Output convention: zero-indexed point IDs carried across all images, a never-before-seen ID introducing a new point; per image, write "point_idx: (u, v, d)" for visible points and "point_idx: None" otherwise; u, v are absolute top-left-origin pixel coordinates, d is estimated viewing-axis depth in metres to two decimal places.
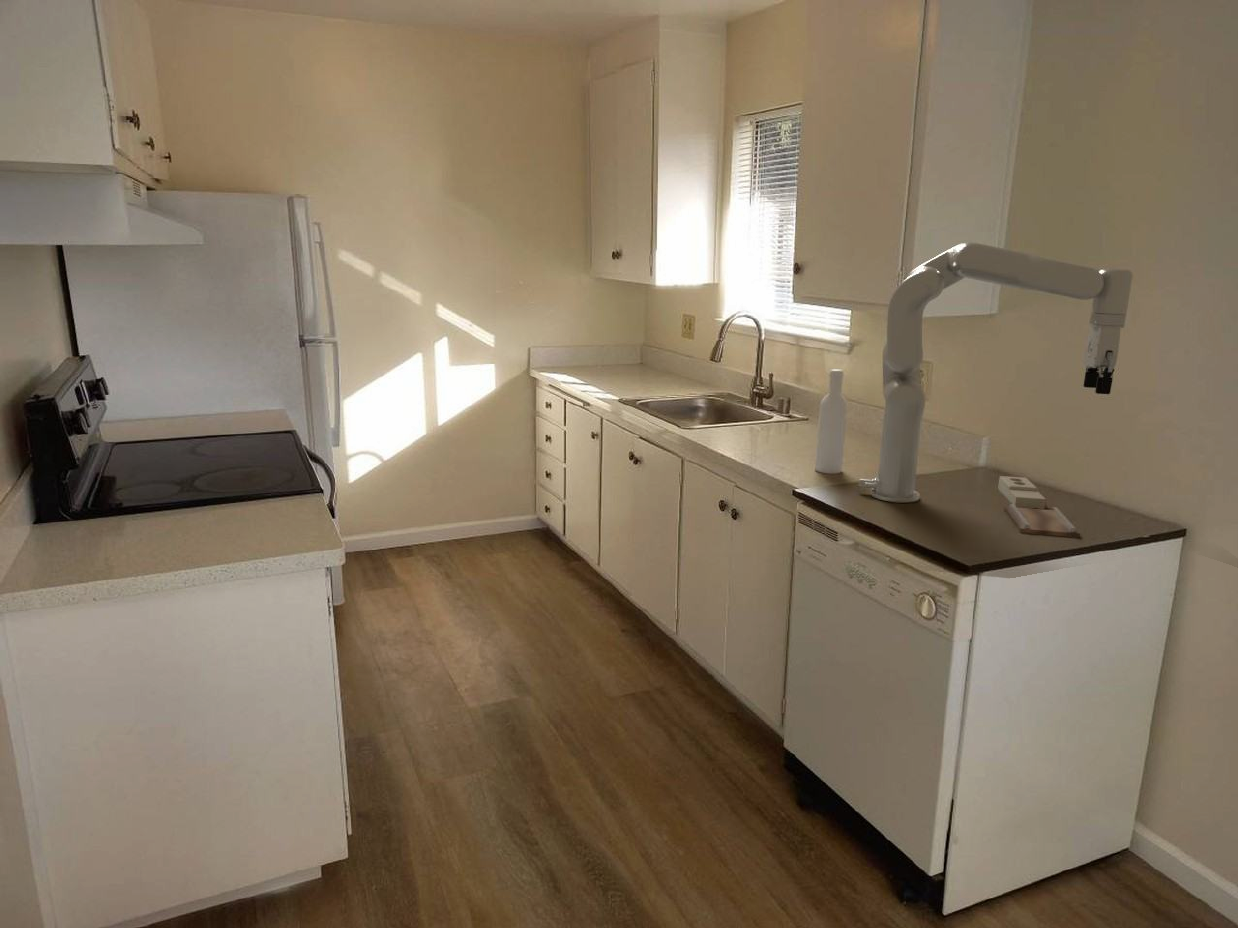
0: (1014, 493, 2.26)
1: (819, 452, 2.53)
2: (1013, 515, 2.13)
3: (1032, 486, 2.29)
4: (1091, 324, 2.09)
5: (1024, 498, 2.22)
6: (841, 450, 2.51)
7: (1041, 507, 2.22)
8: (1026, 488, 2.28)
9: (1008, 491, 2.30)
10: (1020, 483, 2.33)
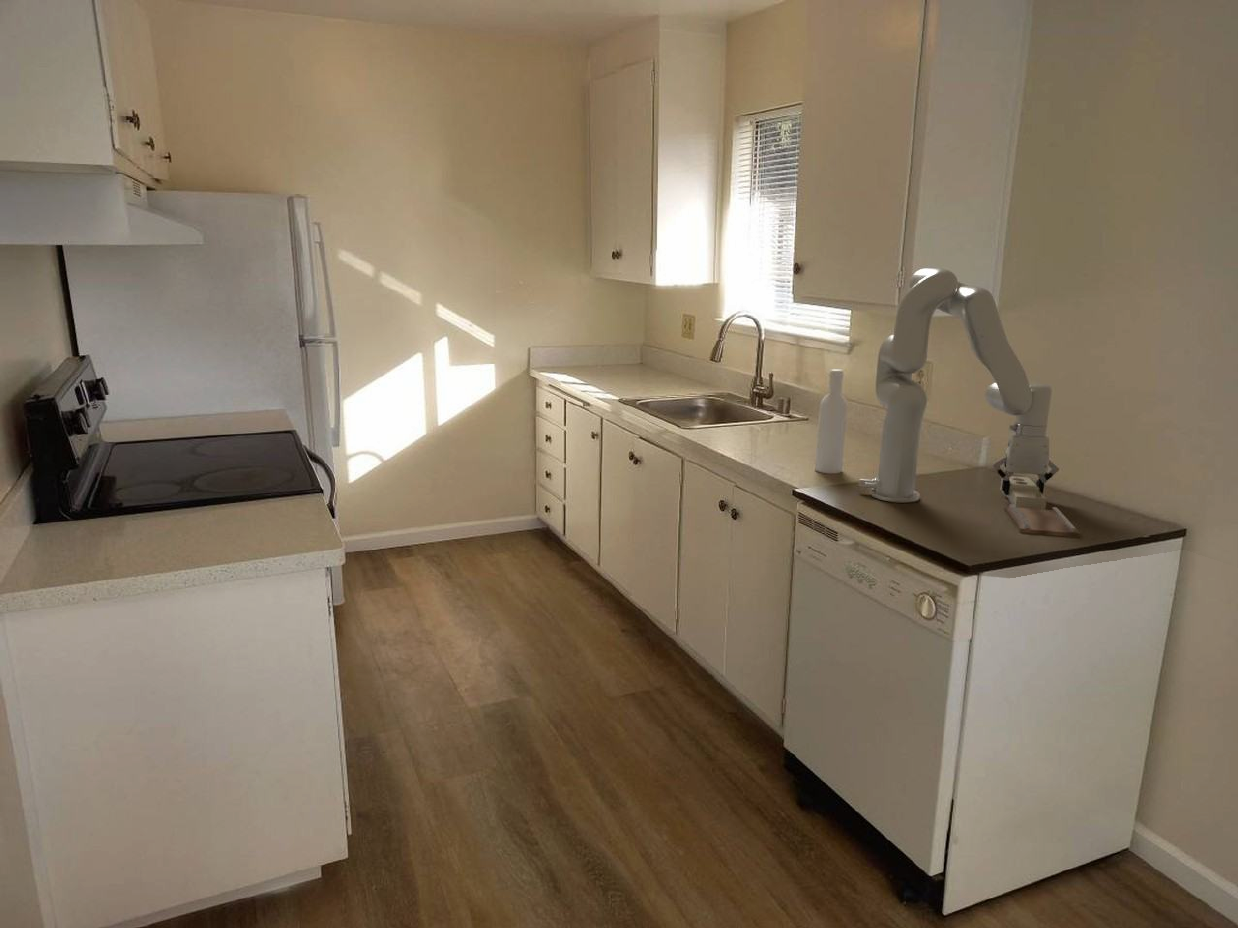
0: (1015, 492, 2.25)
1: (819, 452, 2.53)
2: (1013, 515, 2.13)
3: (1034, 486, 2.28)
4: (1036, 437, 2.23)
5: (1025, 497, 2.21)
6: (841, 450, 2.51)
7: (1042, 507, 2.21)
8: (1028, 488, 2.28)
9: (1010, 490, 2.29)
10: (1022, 483, 2.33)
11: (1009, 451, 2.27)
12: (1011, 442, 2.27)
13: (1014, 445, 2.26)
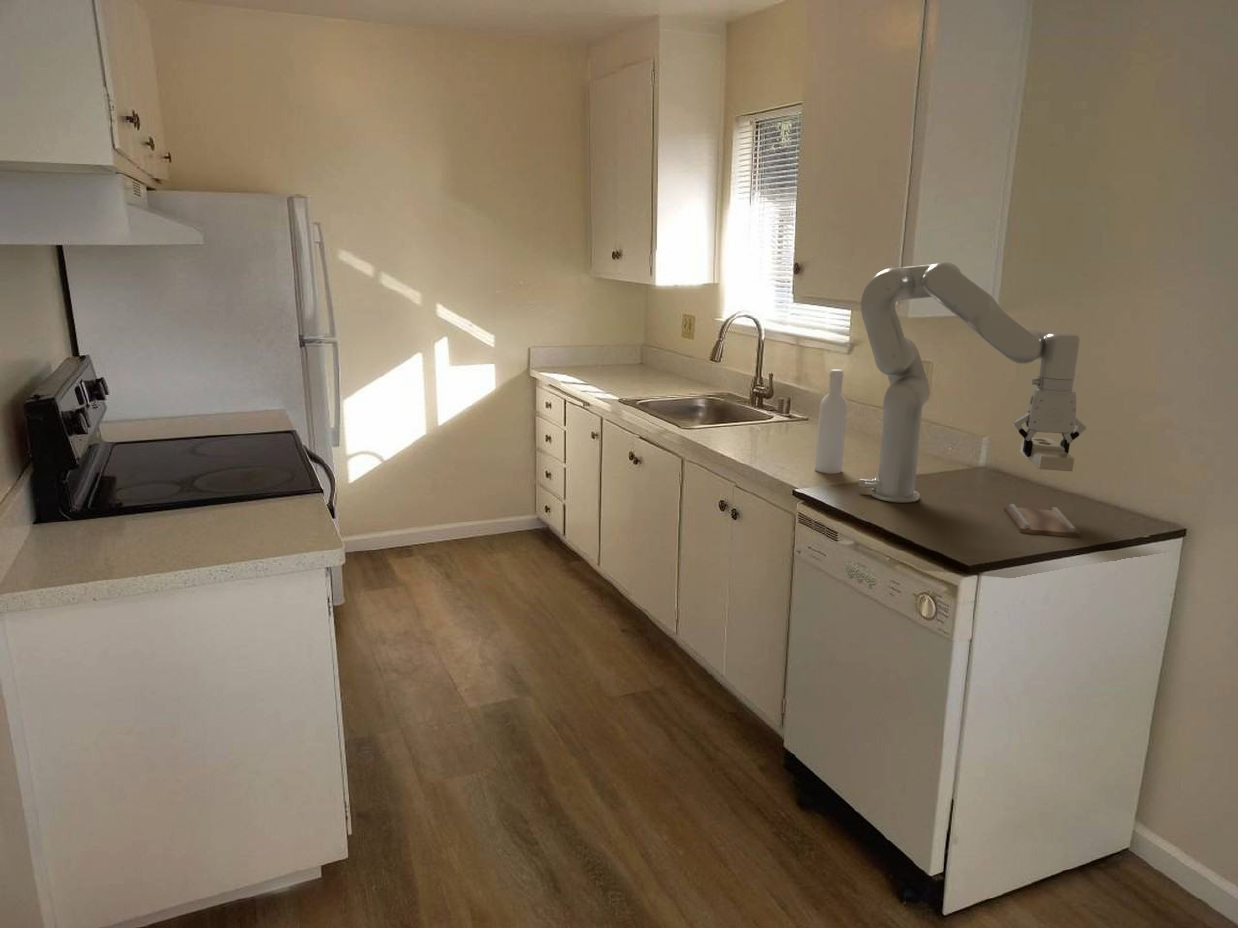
0: (1039, 453, 2.05)
1: (819, 452, 2.53)
2: (1013, 515, 2.13)
3: (1059, 446, 2.08)
4: (1062, 391, 2.03)
5: (1050, 457, 2.01)
6: (841, 450, 2.51)
7: (1069, 467, 2.01)
8: (1052, 448, 2.08)
9: (1032, 451, 2.09)
10: (1045, 443, 2.12)
11: (1032, 408, 2.07)
12: (1034, 398, 2.06)
13: (1038, 401, 2.06)
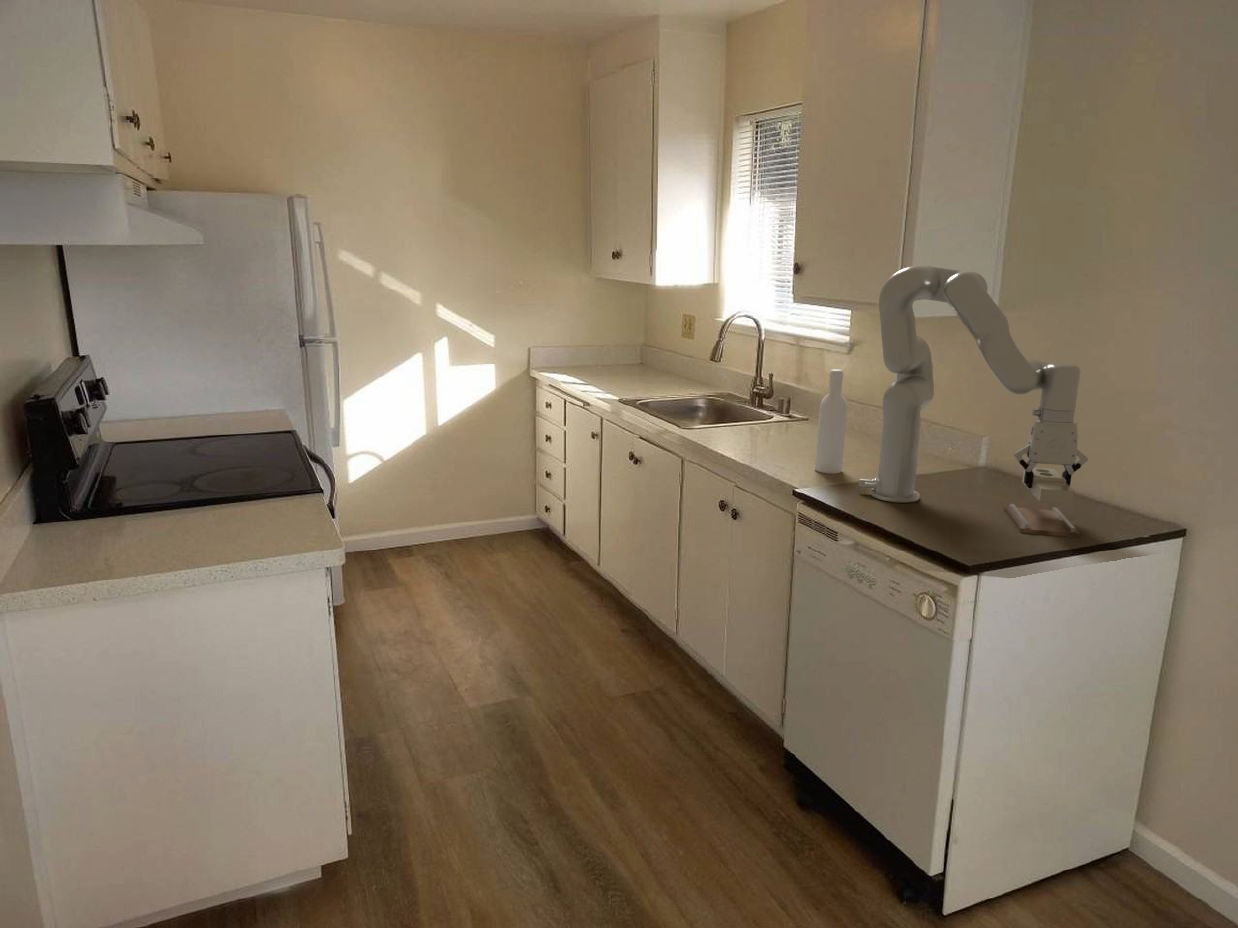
0: (1039, 485, 2.02)
1: (819, 452, 2.53)
2: (1013, 515, 2.13)
3: (1060, 477, 2.05)
4: (1063, 423, 2.00)
5: (1050, 490, 1.99)
6: (841, 450, 2.51)
7: (1070, 500, 1.98)
8: (1053, 479, 2.05)
9: (1033, 483, 2.06)
10: (1047, 474, 2.10)
11: (1032, 439, 2.04)
12: (1035, 429, 2.04)
13: (1038, 432, 2.03)
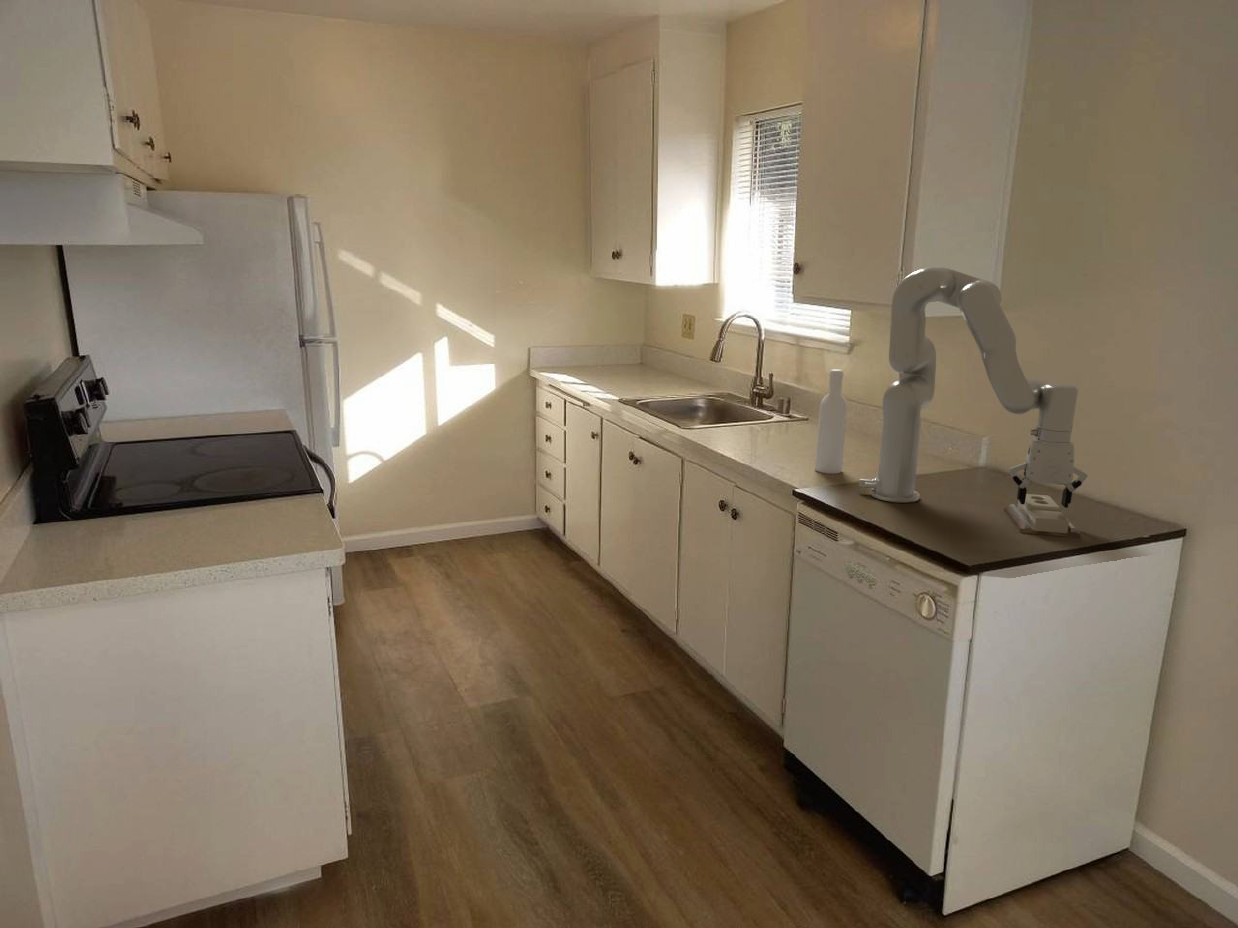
0: (1034, 513, 2.04)
1: (819, 452, 2.53)
2: (1013, 515, 2.13)
3: (1055, 505, 2.07)
4: (1060, 443, 2.01)
5: (1045, 519, 2.00)
6: (841, 450, 2.51)
7: (1064, 529, 2.00)
8: (1048, 508, 2.07)
9: (1028, 511, 2.08)
10: (1042, 502, 2.11)
11: (1029, 458, 2.05)
12: (1032, 448, 2.05)
13: (1035, 452, 2.04)
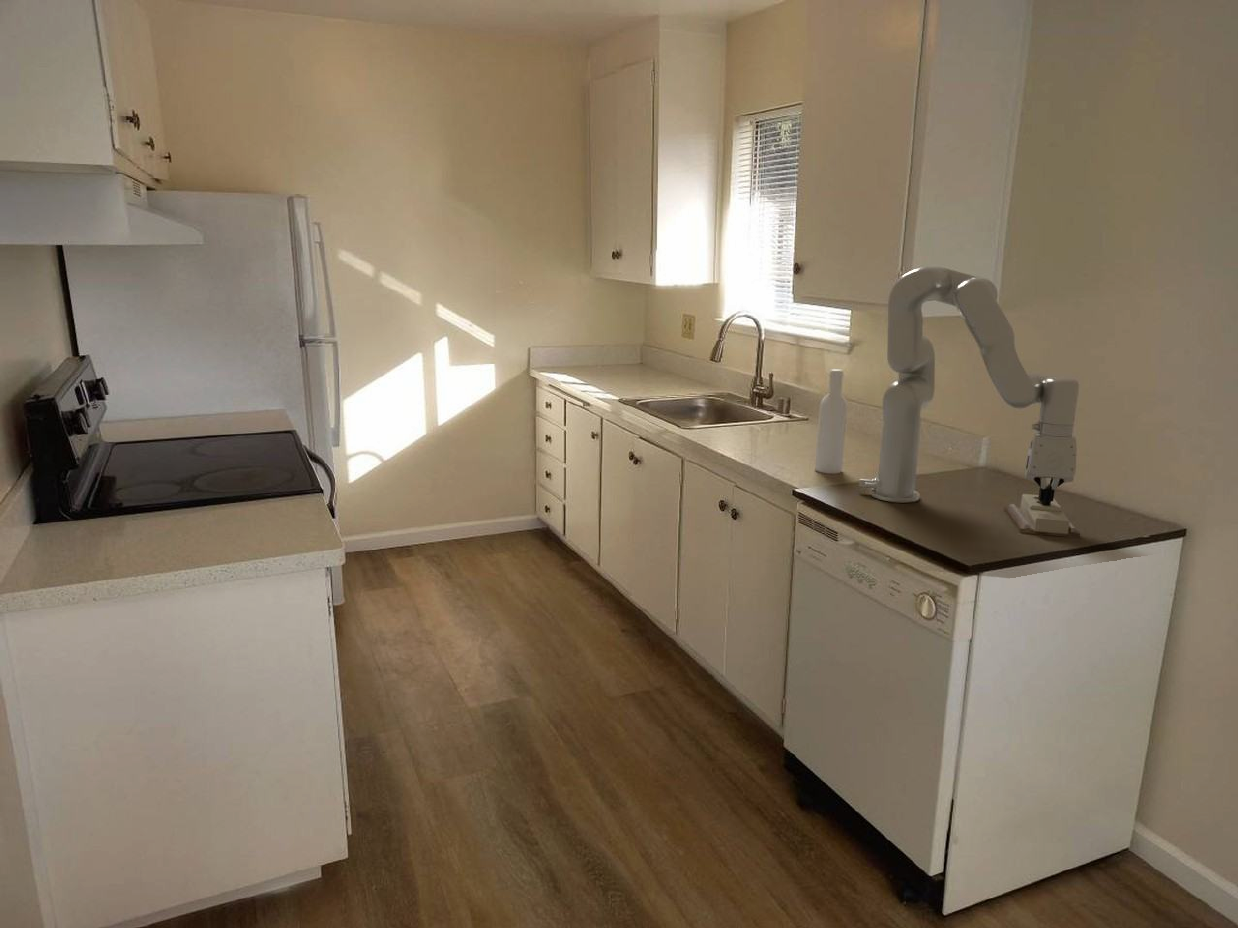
0: (1035, 514, 2.04)
1: (819, 452, 2.53)
2: (1013, 515, 2.13)
3: (1056, 506, 2.07)
4: (1062, 437, 2.01)
5: (1045, 519, 2.00)
6: (841, 450, 2.51)
7: (1064, 530, 2.00)
8: (1049, 508, 2.06)
9: (1029, 511, 2.08)
10: None
11: (1032, 453, 2.05)
12: (1034, 443, 2.04)
13: (1037, 446, 2.04)
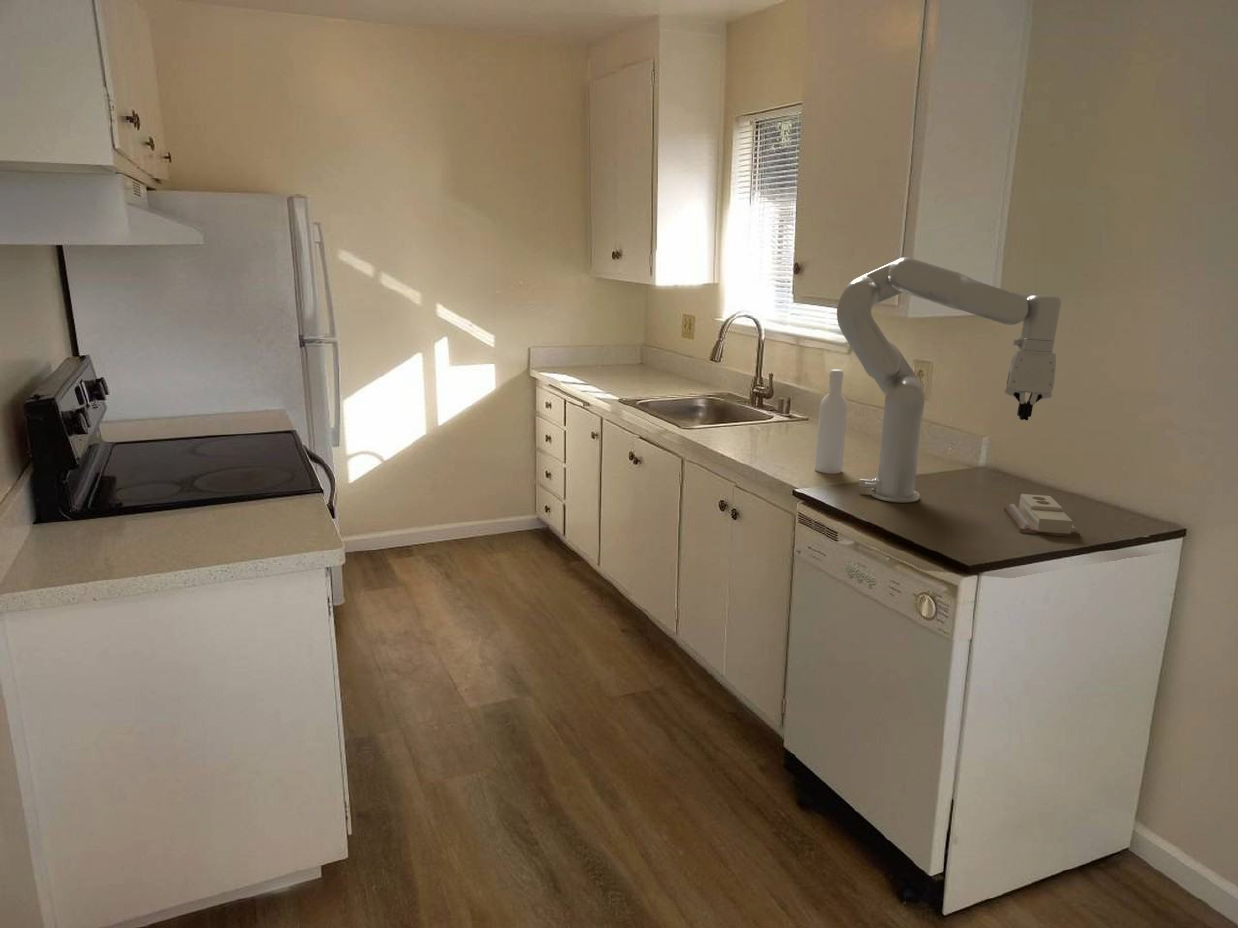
0: (1037, 514, 2.04)
1: (819, 452, 2.53)
2: (1013, 515, 2.13)
3: (1057, 506, 2.07)
4: (1041, 352, 2.08)
5: (1048, 519, 2.00)
6: (841, 450, 2.51)
7: (1067, 530, 2.00)
8: (1050, 508, 2.06)
9: (1030, 511, 2.08)
10: (1044, 502, 2.11)
11: (1012, 368, 2.12)
12: (1015, 358, 2.12)
13: (1018, 361, 2.11)
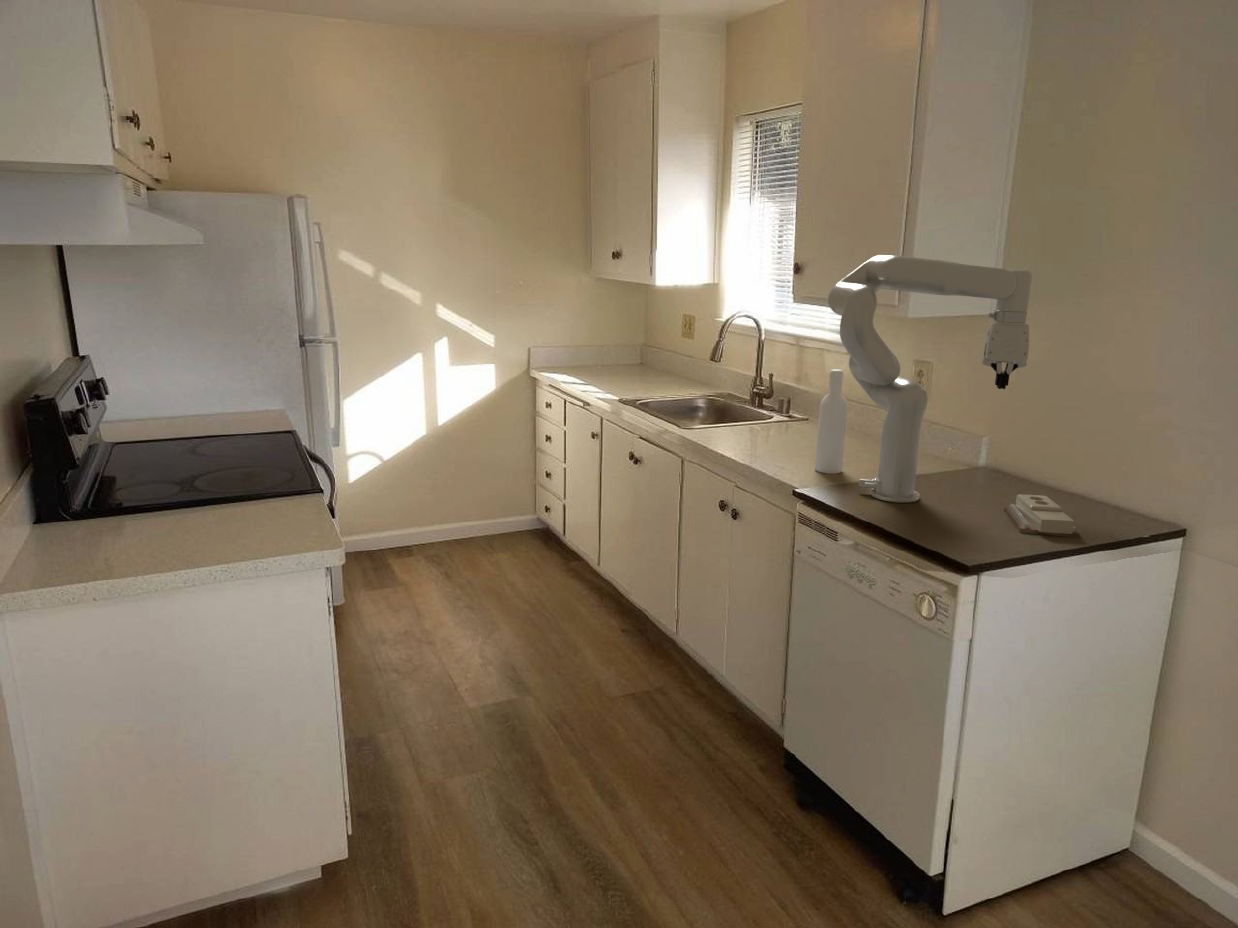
0: (1038, 514, 2.03)
1: (819, 452, 2.53)
2: (1013, 515, 2.13)
3: (1056, 506, 2.07)
4: (1016, 323, 2.19)
5: (1050, 520, 2.00)
6: (841, 450, 2.51)
7: (1069, 530, 2.00)
8: (1050, 508, 2.06)
9: (1030, 512, 2.07)
10: (1041, 502, 2.11)
11: (988, 339, 2.23)
12: (990, 330, 2.23)
13: (993, 333, 2.22)
